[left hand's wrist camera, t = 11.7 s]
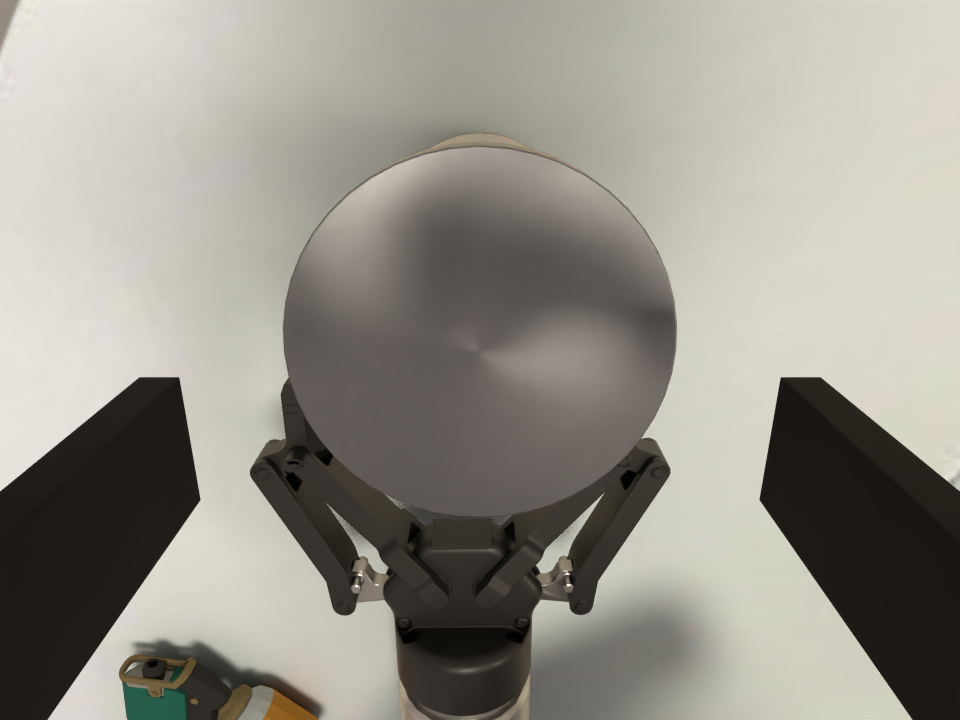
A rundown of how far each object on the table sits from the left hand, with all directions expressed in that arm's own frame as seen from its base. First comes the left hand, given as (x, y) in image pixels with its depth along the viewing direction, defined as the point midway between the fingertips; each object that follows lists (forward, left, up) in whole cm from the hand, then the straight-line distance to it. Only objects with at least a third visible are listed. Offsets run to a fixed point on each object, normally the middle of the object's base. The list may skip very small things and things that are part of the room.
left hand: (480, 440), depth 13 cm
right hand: (+3, +1, -18) cm, 18 cm away
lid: (0, 0, -5) cm, 5 cm away
